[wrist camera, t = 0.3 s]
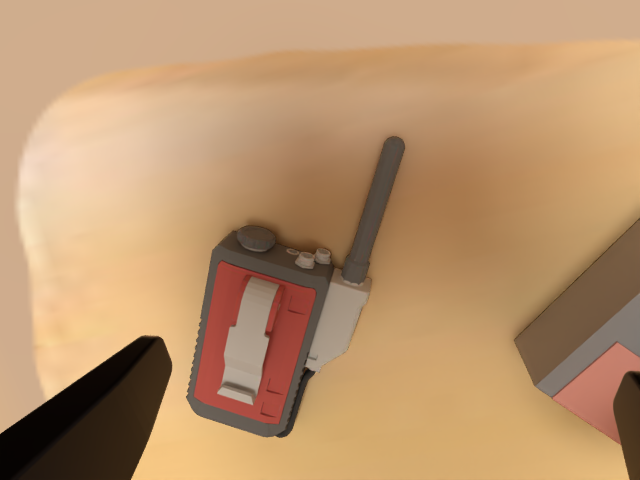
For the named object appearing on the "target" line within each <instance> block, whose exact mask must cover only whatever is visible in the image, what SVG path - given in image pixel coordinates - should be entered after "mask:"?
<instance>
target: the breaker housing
mask: <svg viewBox="0 0 640 480" xmlns="http://www.w3.org/2000/svg"><path fill="white" fill-rule="evenodd" d="M514 341H515V344H516V346H517V348H518V350H519V353H520V355H521V357H522V359H523V361H524V364H525V366H526V368H527V370H528V372H529V375H530V377H531V379H532V381H533V384H534V386H535V387H536V388H538V389H539V390H541V391H542V392H544V393H545V394H547V395H548V396H550V397H551V398H552V399H553V400H554V401H556V402H557V403H559V404H560V405H562V406H563V407H565V408H566V409H568V410H569V411H571V412H572V413H574V414H575V415H577V416H578V417H580V418H581V419H583V420H584V421H586V422H587V423H589V424H590V425H592V426H593V427H595V428H596V429H598V430H599V431H601V432H602V433H604V434H605V435H607V436H608V437H610V438H611V439H613V440H614V441H616V442H617V443H619V444H620V445H621V442H620V438H619V434H618V429H617V425H616V421H615V417H614V412H613V400H614V397H615V395H616V392H617V390H618V388H619V385H620V383H621V381H622V378H623V376H624V374H625V373H626V372H628V371H640V219H639V220H638V221H637V222H636V223H635V224H634V225H633V226H632V227H631V228H630V229H629V230H628V231H627V232H626V233H624V234H623V235H622V236H621V237H620V238H619V239H618V240H617V241H616V242H615V243H614V244H613V245H612V246H611V247H610V248H609V249H608V250H607V251H606V252H605V253H604V254H603V255H602V256H601V257H600V258H599V259H598V260H597V261H596V262H594V263H593V264H592V265H591V266H590V267H589V268H588V269H587V270H586V271H585V272H584V273H583V274H582V275H581V276H580V277H579V278H578V279H577V280H576V281H575V282H574V283H573V284H572V285H571V286H570V287H569V288H568V289H567V290H566V291H565V292H563V293H562V294H561V295H560V296H559V297H558V298H557V299H556V300H555V301H554V302H553V303H552V304H551V305H550V306H549V307H548V308H547V309H546V310H545V311H544V312H543V313H542V314H541V315H540V316H539V317H538V318H537V319H536V320H535V321H533V322H532V323H531V324H530V325H529V326H528V327H527V328H526V329H525V330H524V331H523V332H522V333H521V334H520V335H519V336H518V337H517V338H516V339H515V340H514Z"/></svg>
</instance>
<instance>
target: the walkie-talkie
mask: <svg viewBox="0 0 640 480" xmlns="http://www.w3.org/2000/svg"><path fill="white" fill-rule="evenodd" d="M404 150H405V144H404V142H403V140H402V139H400V138H398V137H391V138H388V139H387V140H386V141H385V143H384V146H383V149H382V152H381V156H380V159H379V162H378V165H377V169H376V172H375V175H374V178H373V182H372V185H371V188H370V191H369V194H368V198H367V201H366V204H365V207H364V211H363V214H362V217H361V220H360V224H359V227H358V230H357V233H356V237H355V240H354V243H353V246H352V250H351V253H350V255H348V256H347V257H346V260H345V264H344V267H343V270H341V269H338V268H334V266H333V264H332V261H331V258H330V254H331V252H330V251H328V250H326V249H323V248H318V249H317V250H316V254H314V255H312V254H310V253H308V252H302V251H299V250H295V249H292V248H289V247H286V246H282V245H279V244H276V243H275V241H276V237H275V235H274V234H273V233H272V232H270V231H269V230H267V229H265V228H262V227H257V226H245V227H243V228H241V229H239V230H238V232H236V231H232V232H231V233H230V234H229V235H227V236H226V237H225V238H224V239H223V240H222V241H221V242H220V243H219V244H218V245H217V246H216V247H215V248H214V249H213V250H212V256H211V261H210V267H209V273H208V278H207V284H206V289H205V295H204V300H203V306H202V312H201V317H200V318H201V319H202V320H201V322H200V323H199V326H200V329H199V331H198V335H199V337H198V338H197V340H196V342H197V345H196V346H195V350H196V352H195V353H194V357H195V359H194V360H193V362H192V364H193V367H192V368H191V371H192V374H191V375H190V379H191V380H190V382H189V384H188V385H189V388H188V390H187V392H188V395H187V396H186V398H187V400H188V402H189V404H190V406H191V408H192V410H193V411H194V412H195V413H196V414H197V415H199V416H201V417H204V418H207V419H210V420H213V421H216V422H219V423H222V424H225V425H228V426H231V427H234V428H238V429H241V430H244V431H247V432H250V433H253V434H256V435H259V436H262V437H273V436H277V437H279V438H282V437H285V436H287V435H288V434H289V433H290V432H291V431H292V429H293V426H294V423H295V419H296V416H297V413H298V409H299V406H300V403H301V400H302V396H303V393H304V390H305V387H306V385H307V382H308V380H309V379H310V378H311V377H312V376H313V375H314V374H315V372H319V373H320V370H321V366H322V365H324V364H326V363H328V362H329V361H331V360H333V359H334V358H336V357H338V356H340V355H341V354H343V353H345V352H346V351H347V350H348V347H349V344H350V341H351V338H352V335H353V333H354V330H355V327H356V324H357V321H358V318H359V315H360V312H361V309H362V306H364V305H365V304H366V303H367V300H368V297H369V294H370V288H371V279H370V278H367V277H366V274H367V271H368V267H369V264H370V263H369V261H368V260H369V257H370V254H371V250H372V247H373V244H374V241H375V238H376V235H377V232H378V229H379V226H380V223H381V220H382V217H383V214H384V211H385V208H386V205H387V202H388V199H389V195H390V192H391V189H392V186H393V183H394V180H395V177H396V174H397V171H398V168H399V165H400V162H401V159H402V156H403V153H404ZM306 361H307V362H306ZM305 367H308V369H307V370H306V371H305V373H304V375H303V371H304V368H305ZM302 375H303V377H302ZM301 378H302V379H301ZM300 381H301V382H300ZM298 388H299V389H298ZM296 395H297V396H296ZM295 398H296V399H295ZM293 405H294V406H293ZM292 408H293V409H292ZM290 415H291V416H290ZM289 418H290V419H289Z"/></svg>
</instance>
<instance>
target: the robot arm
mask: <svg viewBox="0 0 640 480" xmlns="http://www.w3.org/2000/svg"><path fill="white" fill-rule="evenodd" d="M171 372H172V361H171V358H170V356H169V353H168V351H167V348H166V345H165V343H164V341H163V339H162V338H161V337H159V336H148V335H144V336H141V337H139V338H137V339H136V340H135V341H133V342H132V343H130V344H129V345H127V346H126V347H124V348H123V349H122V350H120V351H119V352H117V353H116V354H114V355H113V356H112V357H110V358H109V359H107V360H106V361H104V362H103V363H101V364H100V365H99V366H97V367H96V368H94V369H93V370H91V371H90V372H88V373H87V374H86V375H84V376H83V377H81V378H80V379H78V380H77V381H76V382H74V383H73V384H71V385H70V386H68V387H67V388H65V389H64V390H63V391H61V392H60V393H58V394H57V395H55V396H54V397H52V398H51V399H50V400H48V401H47V402H45V403H44V404H42V405H41V406H40V407H38V408H37V409H35V410H34V411H32V412H31V413H30V414H28V415H27V416H25V417H24V418H23V419H21V420H20V421H18V422H16V423H15V424H14V425H12V426H11V427H9V428H8V429H6V430H5V431H4V432H2V433H1V434H0V480H131V478H132V476H133V474H134V472H135V469H136V467H137V465H138V463H139V460H140V458H141V456H142V454H143V452H144V449H145V447H146V445H147V442H148V440H149V437H150V435H151V432H152V429H153V426H154V423H155V420H156V417H157V414H158V411H159V408H160V405H161V402H162V399H163V396H164V393H165V390H166V388H167V385H168V382H169V379H170V376H171ZM613 412H614V417H615V421H616V425H617V429H618V434H619V438H620V442H621V446H622V450H623V454H624V458H625V463H626V467H627V471H628V475H629V479H630V480H640V371H628V372H626V373H625V374H624V376H623V378H622V381H621V383H620V385H619V388H618V390H617V392H616V395H615V397H614V400H613Z"/></svg>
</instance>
